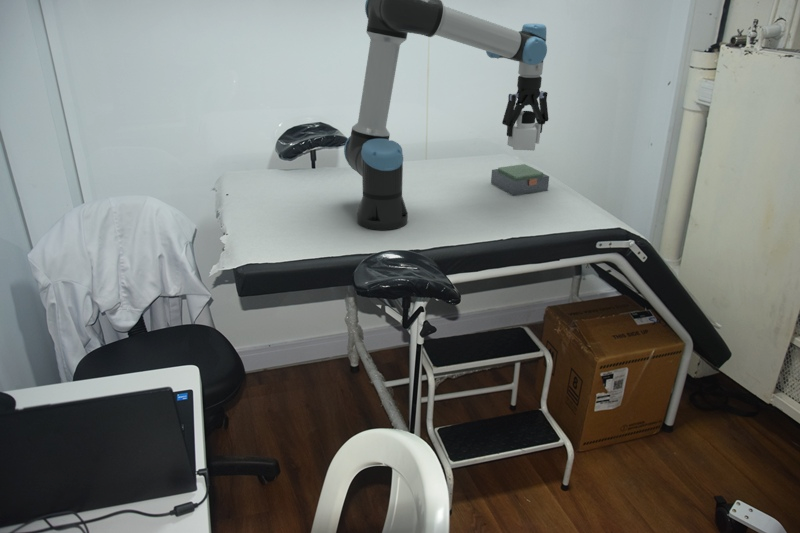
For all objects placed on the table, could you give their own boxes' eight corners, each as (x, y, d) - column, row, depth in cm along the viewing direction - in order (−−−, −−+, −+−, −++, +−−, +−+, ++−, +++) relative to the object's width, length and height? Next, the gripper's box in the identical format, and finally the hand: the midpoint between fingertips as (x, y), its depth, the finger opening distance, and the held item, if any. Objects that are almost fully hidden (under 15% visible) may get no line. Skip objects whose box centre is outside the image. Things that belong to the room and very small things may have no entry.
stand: (514, 196, 204) (516, 179, 202) (490, 183, 216) (492, 167, 214) (548, 190, 210) (550, 174, 207) (523, 178, 222) (525, 162, 219)
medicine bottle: (532, 145, 210) (536, 109, 205) (534, 150, 204) (538, 114, 198) (511, 144, 211) (514, 109, 205) (513, 150, 204) (516, 113, 199)
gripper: (507, 79, 189) (501, 150, 199) (565, 75, 198) (556, 143, 208) (494, 75, 196) (489, 145, 205) (550, 71, 204) (543, 138, 214)
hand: (523, 144), depth 207 cm, fingers closed on medicine bottle, 9 cm apart
